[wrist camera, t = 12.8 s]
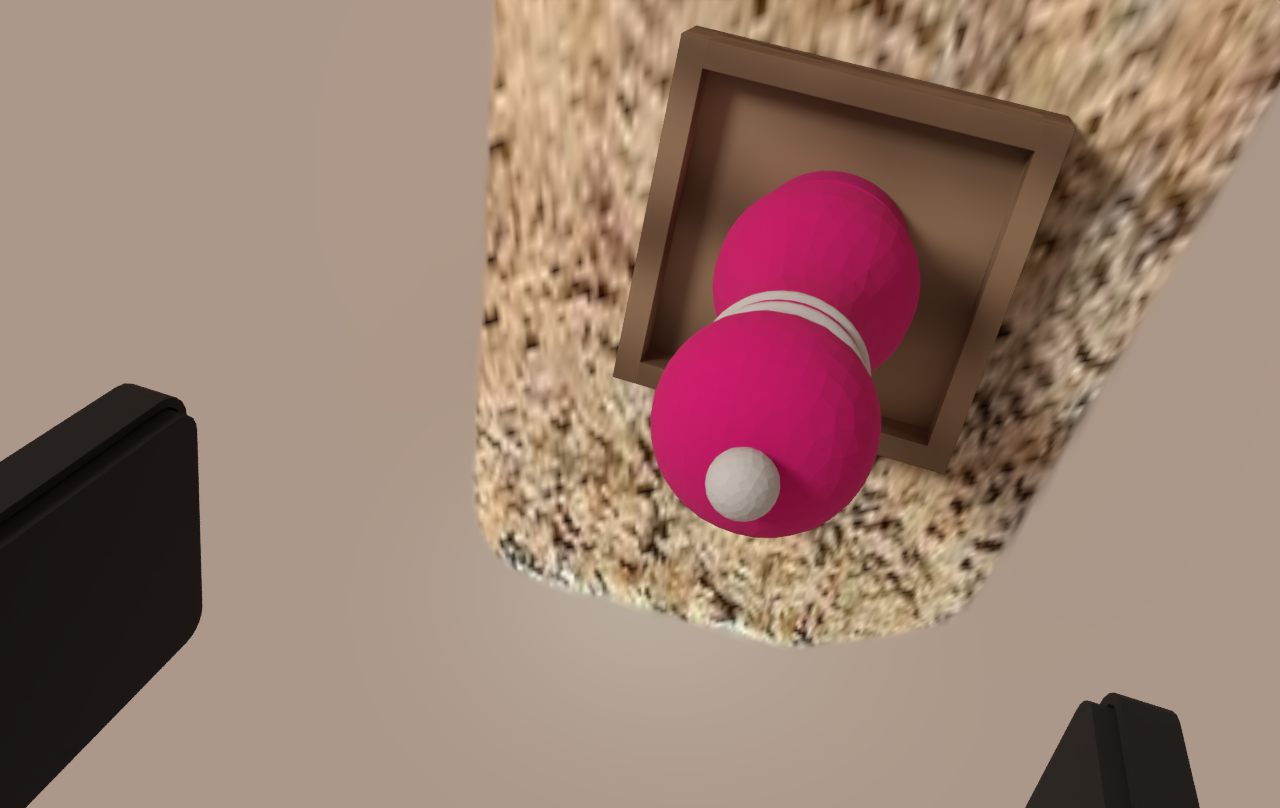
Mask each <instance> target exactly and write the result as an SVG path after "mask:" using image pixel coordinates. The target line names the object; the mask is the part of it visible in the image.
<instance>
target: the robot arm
mask: <svg viewBox="0 0 1280 808" xmlns="http://www.w3.org/2000/svg"><path fill="white" fill-rule="evenodd" d="M199 514H200V513H199V477H198V443H197V427H196V423H195V421H194V419H193V418H192V417H190V416H188V415H187V414H186V408H185V406H184V404H183V402H182V401H181V400H179V399H178V398H176V397H173V396H169V395H166V394H163V393H160V392H157V391H153V390H150V389H147V388H144V387H141V386H138V385H134V384H122V385H120V386H118V387H116V388H114V389H112V390H111V391H109V392H108V393H106V394H105V395H103V396H102V397H100V398H98V399H97V400H95V401H94V402H92V403H91V404H89V405H88V406H86V407H85V408H83V409H81V410H80V411H78V412H77V413H75V414H74V415H72V416H71V417H69V418H67V419H66V420H64V421H63V422H61V423H60V424H58V425H57V426H55V427H53V428H52V429H50V430H49V431H47V432H46V433H44V434H43V435H41V436H40V437H38V438H37V439H35V440H34V441H32V442H30V443H29V444H27V445H26V446H24V447H23V448H21V449H19V450H18V451H16V452H15V453H13V454H12V455H10V456H9V457H7V458H5V459H4V460H3V461H1V462H0V808H26V807H27V806H28V805H29V804H30V803H31V802H32V800H33V799H35V798H36V796H37V795H38V794H39V793H40V792H41V791H42V790H43V789H44V788H45V787H46V786H47V785H48V784H49V783H50V782H51V781H52V780H53V779H54V778H55V777H56V776H57V775H58V774H59V773H60V772H61V771H62V770H63V769H64V768H65V767H66V766H67V765H68V763H70V762H71V761H72V760H73V758H74V757H75V756H76V755H77V754H78V753H79V752H80V751H81V750H82V749H83V748H84V747H85V746H86V745H87V744H88V743H89V742H90V741H91V740H92V739H93V738H94V737H95V736H96V735H97V734H98V733H99V732H100V731H101V730H102V729H103V728H104V727H105V726H106V725H107V723H109V721H111V720H112V718H113V717H114V716H115V715H116V714H117V713H118V712H119V711H120V710H121V709H122V708H123V707H124V706H125V705H126V704H127V703H128V702H129V701H130V700H131V699H132V698H133V697H134V696H135V695H136V694H137V693H138V692H139V691H140V689H142V688H143V687H144V686H145V685H146V684H147V683H148V681H149V680H150V679H151V678H152V677H153V676H154V675H155V674H156V673H157V672H158V671H159V670H160V669H161V668H162V667H163V666H164V665H165V664H166V663H167V662H168V661H169V660H170V659H171V658H172V657H173V656H174V655H175V654H176V653H177V652H178V651H179V650H180V649H181V648H182V647H183V645H185V644H186V643H187V641H188V640H189V639H190V638H191V636H192V635H193V633H194V631H195V630H196V628H197V625H198V623H199V621H200V617H201V613H202V580H201V547H200V546H201V545H200V515H199ZM1025 808H1200V807H1199V803H1198V798H1197V794H1196V790H1195V785H1194V781H1193V777H1192V772H1191V768H1190V764H1189V759H1188V755H1187V751H1186V746H1185V742H1184V738H1183V734H1182V729H1181V725H1180V722H1179V719H1178V717H1177V715H1176V714H1175V713H1174V712H1173V711H1170V710H1167V709H1164V708H1161V707H1158V706H1155V705H1152V704H1149V703H1145V702H1142V701H1139V700H1136V699H1132V698H1129V697H1126V696H1123V695H1120V694H1117V693H1109V694H1108V695H1107V696H1105V697H1104V698H1103V700H1102V701H1101V703H1100V704H1097V703H1094V702H1091V701H1083V702H1082V703H1081V704H1080V705H1079V707H1078V709H1077V710H1076V712H1075V714H1074V716H1073V718H1072V720H1071V722H1070V723H1069V725H1068V727H1067V729H1066V731H1065V733H1064V735H1063V737H1062V739H1061V740H1060V743H1059V745H1058V746H1057V748H1056V750H1055V752H1054V754H1053V756H1052V758H1051V760H1050V762H1049V763H1048V765H1047V767H1046V769H1045V771H1044V773H1043V775H1042V777H1041V779H1040V780H1039V782H1038V785H1037V786H1036V788H1035V790H1034V792H1033V794H1032V796H1031V798H1030V800H1029V801H1028V803H1027V805H1026V807H1025Z"/></svg>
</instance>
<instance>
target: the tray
mask: <svg viewBox="0 0 1280 808" xmlns="http://www.w3.org/2000/svg"><path fill="white" fill-rule="evenodd" d="M1074 131H1075V129H1074V126H1073V124H1072V122H1071V120H1070V118H1069V116H1065V115H1061V114H1057V113H1053V112H1049V111H1045V110H1041V109H1037V108H1032V107H1028V106H1024V105H1020V104H1016V103H1012V102H1008V101H1004V100H1000V99H996V98H991V97H987V96H983V95H979V94H975V93H971V92H967V91H963V90H959V89H954V88H950V87H946V86H942V85H938V84H934V83H930V82H926V81H922V80H918V79H913V78H909V77H905V76H901V75H897V74H893V73H889V72H885V71H881V70H876V69H872V68H868V67H864V66H860V65H856V64H852V63H848V62H844V61H840V60H835V59H831V58H827V57H823V56H819V55H815V54H811V53H807V52H803V51H798V50H794V49H790V48H786V47H782V46H778V45H774V44H770V43H766V42H762V41H757V40H753V39H749V38H745V37H741V36H737V35H733V34H729V33H725V32H720V31H716V30H712V29H708V28H704V27H700V26H695V27H693V28H691V29H689V30H687V31H685V32H683V33H682V34H681V39H680V44H679V49H678V54H677V59H676V64H675V69H674V74H673V79H672V84H671V89H670V94H669V99H668V104H667V109H666V114H665V119H664V124H663V129H662V134H661V139H660V144H659V149H658V154H657V159H656V164H655V169H654V174H653V179H652V184H651V189H650V193H649V198H648V203H647V208H646V213H645V218H644V223H643V228H642V233H641V238H640V243H639V248H638V253H637V258H636V263H635V268H634V273H633V278H632V283H631V288H630V293H629V298H628V303H627V308H626V313H625V318H624V323H623V328H622V333H621V338H620V343H619V348H618V353H617V358H616V363H615V368H614V373H613V377H615V378H619V379H622V380H626V381H629V382H632V383H636V384H639V385H643V386H646V387H649V388H653V389H657V386H658V383H659V381H660V378H661V376H662V373H663V372H664V370H665V368H666V366H667V364H668V362H669V361H670V359H671V358H672V357H673V356H674V354H675V353H676V352H677V351H678V349H679V348H680V347H681V346H682V345H683V344H684V342H686V341H687V340H688V339H689V338H690V337H692V336H693V335H694V334H695V333H696V332H698V331H699V330H700V329H701V328H703V327H705V326H707V325H709V324H711V323H713V322H714V321H715V319H716V318H717V317H716V312H715V307H714V301H713V284H712V283H713V276H714V270H715V265H716V262H717V258H718V255H719V252H720V249H721V246H722V244H723V242H724V240H725V238H726V236H727V233H728V231H729V230H730V228H731V227H732V226H733V224H734V223H735V221H736V220H737V219H738V218H739V216H740V215H741V214H742V213H743V212H744V211H745V210H746V209H747V208H748V207H750V206H751V205H752V204H754V203H755V202H757V201H758V200H759V199H761V198H762V197H764V196H765V195H767V194H769V193H772V192H773V191H774V190H776V189H777V188H778V187H780V186H781V185H782V184H784V183H786V182H787V181H789V180H791V179H793V178H795V177H798V176H800V175H803V174H807V173H811V172H817V171H840V172H846V173H850V174H854V175H857V176H859V177H862V178H864V179H866V180H868V181H870V182H872V183H873V184H875V185H876V186H878V187H879V188H880V189H882V190H883V191H884V192H885V193H886V194H887V195H888V196H889V197H890V198H891V199H892V200H893V202H894V203H895V204H896V206H897V207H898V209H899V210H900V212H901V214H902V216H903V218H904V220H905V223H906V225H907V229H908V234H909V237H910V240H911V242H912V245H913V247H914V249H915V252H916V255H917V258H918V264H919V271H920V295H919V299H918V304H917V309H916V311H915V314H914V317H913V319H912V322H911V324H910V326H909V328H908V330H907V333H906V335H905V337H904V339H903V340H902V342H901V343H900V345H899V346H898V347H897V349H896V350H895V352H894V353H893V354H892V355H891V356H890V357H889V358H888V359H887V360H886V361H885V362H884V363H883V364H881V365H880V366H879V367H878V368H876V369H875V370H874V371H872V372H871V378H872V380H873V381H874V385H875V389H876V392H877V396H878V400H879V404H880V412H881V438H880V442H879V446H878V451H877V455H880V456H883V457H887V458H890V459H893V460H897V461H900V462H904V463H907V464H910V465H914V466H917V467H920V468H924V469H927V470H931V471H934V472H937V473H941V474H944V475H945V472H946V469H947V467H948V464H949V461H950V459H951V456H952V454H953V451H954V448H955V446H956V443H957V440H958V438H959V435H960V432H961V430H962V427H963V424H964V422H965V419H966V417H967V414H968V411H969V409H970V406H971V403H972V401H973V398H974V395H975V393H976V390H977V388H978V385H979V382H980V380H981V377H982V374H983V372H984V369H985V366H986V364H987V361H988V358H989V356H990V353H991V351H992V348H993V345H994V343H995V340H996V337H997V335H998V332H999V329H1000V327H1001V324H1002V322H1003V319H1004V316H1005V314H1006V311H1007V308H1008V306H1009V303H1010V300H1011V298H1012V295H1013V292H1014V290H1015V287H1016V285H1017V282H1018V279H1019V277H1020V274H1021V271H1022V269H1023V266H1024V263H1025V261H1026V258H1027V256H1028V253H1029V250H1030V248H1031V245H1032V242H1033V240H1034V237H1035V234H1036V232H1037V229H1038V226H1039V224H1040V221H1041V219H1042V216H1043V213H1044V211H1045V208H1046V205H1047V203H1048V200H1049V197H1050V195H1051V192H1052V189H1053V187H1054V184H1055V182H1056V179H1057V176H1058V174H1059V171H1060V168H1061V166H1062V163H1063V160H1064V158H1065V155H1066V153H1067V150H1068V147H1069V145H1070V142H1071V139H1072V137H1073V134H1074Z"/></svg>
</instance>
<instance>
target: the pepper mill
mask: <svg viewBox="0 0 1280 808" xmlns="http://www.w3.org/2000/svg"><path fill="white" fill-rule="evenodd" d="M712 284H713V301H714V307H715V312H716V317H717V318H716V319H715V321H714V322H713V323H711V324H709V325H707V326H705V327H703V328H701V329H700V330H699V331H698V332H696V333H695V334H694V335H693V336H692V337H690V338H689V339H688V340H687V341H686V342H684V344H683V345H682V346H681V347H680V348H679V349H678V351H677V352H676V353H675V354H674V356H673V357H672V358H671V359H670V361H669V362H668V364H667V366H666V368H665V370H664V372H663V373H662V376H661V378H660V381H659V383H658V386H657V389H656V391H655V395H654V400H653V406H652V411H651V439H652V445H653V449H654V452H655V456H656V460H657V463H658V466H659V468H660V470H661V472H662V474H663V476H664V479H665V480H666V482H667V483H668V485H669V486H670V488H671V489H672V490H673V492H674V493H675V494H676V496H677V497H678V498H679V499H680V500H681V502H682V503H683V504H684V505H685V506H687V507H688V508H689V509H690V510H691V511H693V512H694V513H695V514H696V515H697V516H699V517H700V518H702V519H704V520H705V521H707V522H709V523H711V524H713V525H715V526H717V527H719V528H722V529H725V530H727V531H730V532H733V533H736V534H740V535H745V536H750V537H757V538H778V537H784V536H790V535H794V534H798V533H802V532H805V531H809V530H812V529H814V528H816V527H817V526H819V525H821V524H823V523H824V522H826V521H828V520H830V519H831V518H832V517H834V516H835V515H836V514H837V513H839V512H840V511H841V510H842V509H843V508H845V507H846V506H847V505H848V504H849V503H850V502H851V501H852V500H853V498H854V497H855V496H856V494H857V493H858V492H859V491H860V489H861V488H862V486H863V485H864V484H865V482H866V479H867V477H868V475H869V473H870V471H871V469H872V466H873V464H874V462H875V459H876V455H877V451H878V446H879V442H880V438H881V412H880V404H879V400H878V396H877V392H876V389H875V385H874V381H873V380H872V378H871V372H872V371H874V370H875V369H876V368H878V367H879V366H880V365H881V364H883V363H884V362H885V361H886V360H887V359H888V358H889V357H890V356H891V355H892V354H893V353H894V352H895V350H896V349H897V347H898V346H899V345H900V343H901V342H902V340H903V339H904V337H905V335H906V333H907V330H908V328H909V326H910V324H911V322H912V319H913V317H914V314H915V311H916V309H917V304H918V299H919V295H920V271H919V264H918V258H917V255H916V252H915V249H914V247H913V245H912V242H911V240H910V237H909V234H908V229H907V225H906V223H905V220H904V218H903V216H902V214H901V212H900V210H899V209H898V207H897V206H896V204H895V203H894V202H893V200H892V199H891V198H890V197H889V196H888V195H887V194H886V193H885V192H884V191H883V190H882V189H880V188H879V187H878V186H876V185H875V184H873V183H872V182H870V181H868V180H866V179H864V178H862V177H859V176H857V175H854V174H850V173H846V172H840V171H817V172H811V173H807V174H803V175H800V176H798V177H795V178H793V179H791V180H789V181H787V182H786V183H784V184H782V185H781V186H780V187H778V188H777V189H776V190H774V191H773V192H772V193H769V194H767V195H765V196H764V197H762V198H761V199H759V200H758V201H757V202H755V203H754V204H752V205H751V206H750V207H748V208H747V209H746V210H745V211H744V212H743V213H742V214H741V215H740V216H739V218H738V219H737V220H736V221H735V223H734V224H733V226H732V227H731V228H730V230H729V231H728V233H727V236H726V238H725V240H724V242H723V244H722V246H721V249H720V252H719V255H718V258H717V262H716V265H715V270H714V276H713V283H712Z"/></svg>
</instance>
